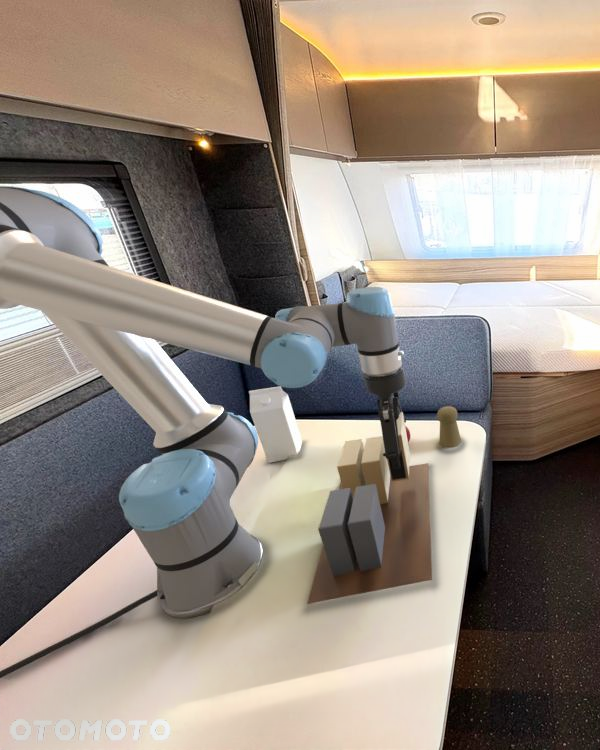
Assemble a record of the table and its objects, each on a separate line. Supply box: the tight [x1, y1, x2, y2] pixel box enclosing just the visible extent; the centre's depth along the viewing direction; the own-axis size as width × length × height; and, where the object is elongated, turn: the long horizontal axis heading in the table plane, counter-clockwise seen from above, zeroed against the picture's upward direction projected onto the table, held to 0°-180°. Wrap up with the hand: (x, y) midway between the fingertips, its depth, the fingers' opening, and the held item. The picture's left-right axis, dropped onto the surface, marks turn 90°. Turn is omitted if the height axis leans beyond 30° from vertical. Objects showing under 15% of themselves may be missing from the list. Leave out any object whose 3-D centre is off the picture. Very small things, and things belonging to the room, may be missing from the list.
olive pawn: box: [436, 405, 462, 449], centre depth 100 cm, size 6×6×11 cm
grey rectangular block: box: [348, 484, 385, 571], centre depth 69 cm, size 4×9×11 cm, turn 11°
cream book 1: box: [336, 438, 366, 499], centre depth 83 cm, size 4×9×11 cm, turn 11°
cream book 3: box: [383, 411, 411, 482], centre depth 82 cm, size 4×9×11 cm, turn 11°
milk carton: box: [248, 385, 303, 464], centre depth 98 cm, size 7×7×19 cm
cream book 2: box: [361, 435, 390, 504], centre depth 83 cm, size 4×9×11 cm, turn 11°
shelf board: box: [307, 463, 433, 605], centre depth 78 cm, size 20×32×1 cm, turn 11°
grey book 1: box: [317, 488, 357, 576], centre depth 68 cm, size 4×9×11 cm, turn 11°
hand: (400, 463), depth 84 cm, fingers closed on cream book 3, 9 cm apart
